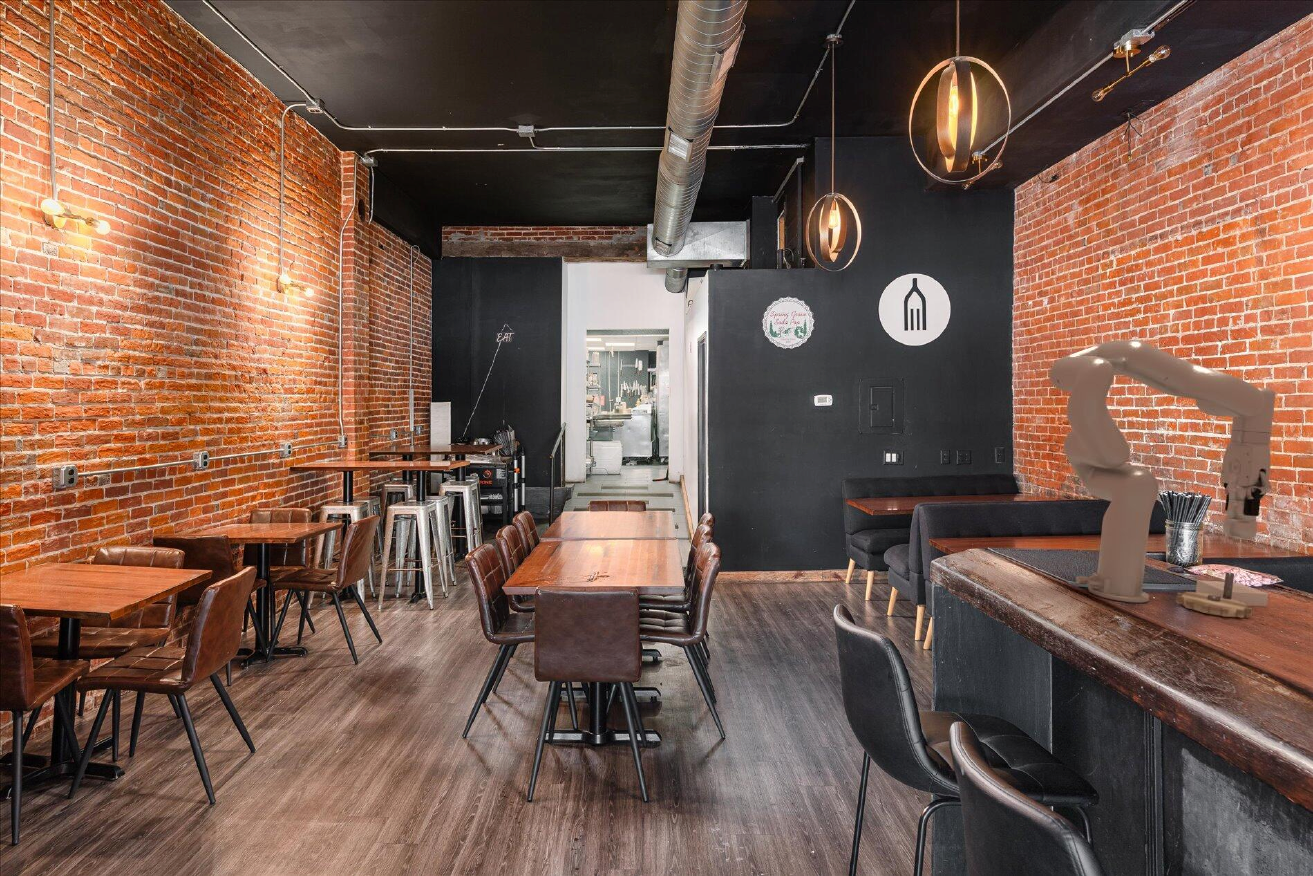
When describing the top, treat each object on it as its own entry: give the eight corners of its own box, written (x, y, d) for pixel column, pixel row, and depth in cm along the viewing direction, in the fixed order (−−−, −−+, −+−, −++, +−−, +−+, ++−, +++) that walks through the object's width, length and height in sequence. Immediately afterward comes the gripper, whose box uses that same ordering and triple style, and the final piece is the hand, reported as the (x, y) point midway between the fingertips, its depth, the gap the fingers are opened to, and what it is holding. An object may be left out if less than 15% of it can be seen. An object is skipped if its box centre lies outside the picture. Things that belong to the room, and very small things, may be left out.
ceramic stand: (1224, 604, 180) (1226, 591, 180) (1195, 591, 190) (1197, 580, 190) (1267, 606, 180) (1268, 594, 180) (1236, 594, 190) (1237, 582, 190)
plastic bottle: (1262, 542, 180) (1271, 459, 178) (1230, 540, 181) (1239, 457, 180) (1246, 537, 186) (1256, 456, 185) (1216, 535, 188) (1225, 454, 186)
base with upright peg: (1249, 622, 164) (1254, 587, 164) (1171, 607, 174) (1175, 573, 173) (1253, 609, 175) (1257, 576, 174) (1179, 595, 184) (1183, 563, 184)
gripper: (1209, 435, 190) (1201, 506, 192) (1261, 441, 173) (1252, 519, 175) (1239, 436, 190) (1231, 507, 192) (1295, 443, 173) (1285, 521, 175)
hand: (1241, 512), depth 183 cm, fingers closed on plastic bottle, 5 cm apart
